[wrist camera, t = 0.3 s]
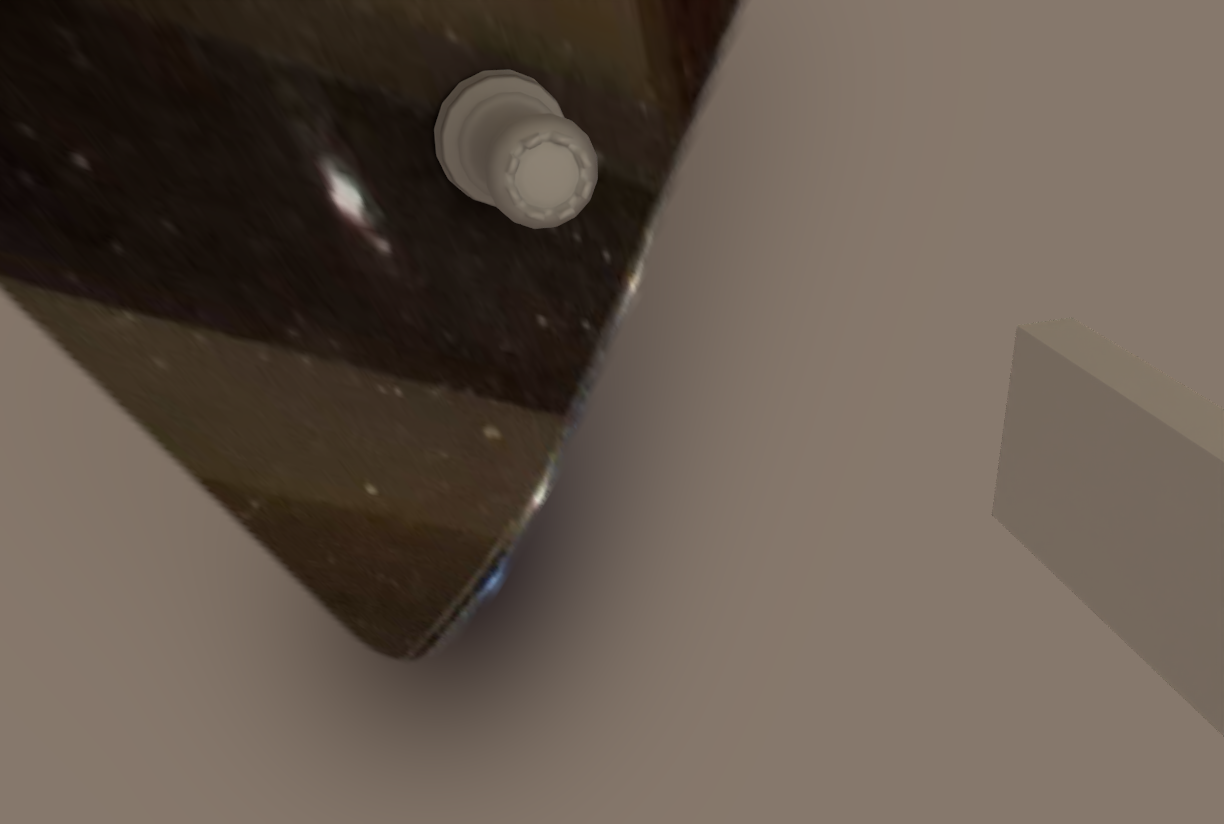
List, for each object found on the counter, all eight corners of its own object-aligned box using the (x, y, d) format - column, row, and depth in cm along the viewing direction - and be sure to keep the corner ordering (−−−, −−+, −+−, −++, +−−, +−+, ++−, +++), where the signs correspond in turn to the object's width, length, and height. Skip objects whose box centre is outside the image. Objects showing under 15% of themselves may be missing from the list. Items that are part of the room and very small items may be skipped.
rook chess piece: (520, 224, 40) (575, 284, 33) (407, 160, 38) (439, 209, 31) (585, 111, 39) (656, 147, 32) (473, 40, 37) (522, 62, 30)
